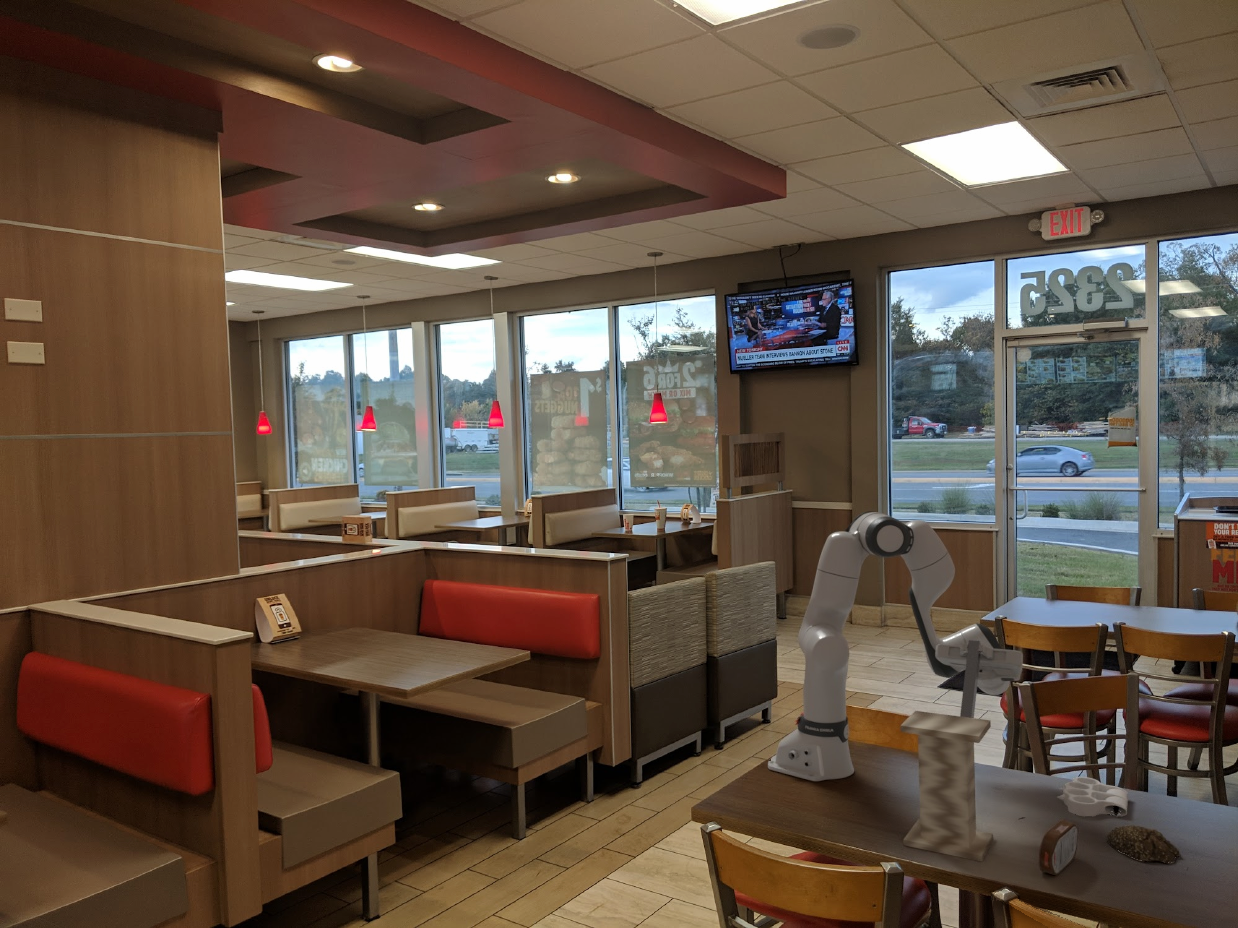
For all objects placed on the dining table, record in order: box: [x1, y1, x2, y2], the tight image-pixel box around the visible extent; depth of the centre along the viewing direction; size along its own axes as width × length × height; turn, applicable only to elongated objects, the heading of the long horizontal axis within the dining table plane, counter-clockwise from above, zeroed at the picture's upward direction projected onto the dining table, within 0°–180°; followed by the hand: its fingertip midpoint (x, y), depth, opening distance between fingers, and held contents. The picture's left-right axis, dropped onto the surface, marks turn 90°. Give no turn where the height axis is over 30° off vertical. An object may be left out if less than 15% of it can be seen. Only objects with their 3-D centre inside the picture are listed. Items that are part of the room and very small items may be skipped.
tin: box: [1038, 818, 1079, 876], centre depth 185 cm, size 15×3×8 cm, turn 134°
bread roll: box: [1106, 825, 1181, 864], centre depth 191 cm, size 13×12×5 cm
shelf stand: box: [899, 710, 994, 862], centre depth 197 cm, size 16×12×26 cm
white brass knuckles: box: [1056, 776, 1129, 817], centre depth 216 cm, size 3×18×15 cm
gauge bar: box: [959, 640, 981, 718], centre depth 217 cm, size 24×2×2 cm
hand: (973, 647), depth 221 cm, fingers closed on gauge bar, 2 cm apart
